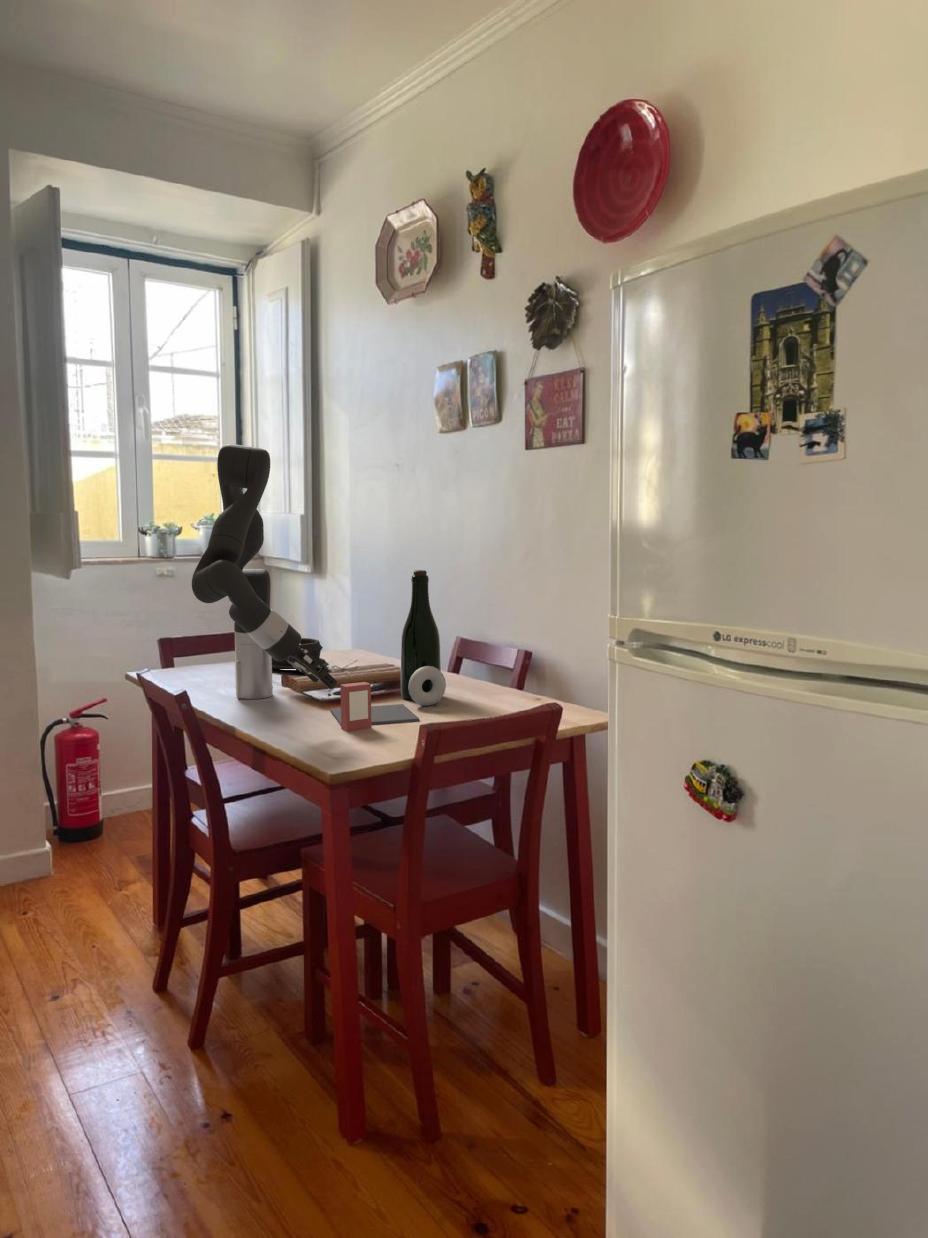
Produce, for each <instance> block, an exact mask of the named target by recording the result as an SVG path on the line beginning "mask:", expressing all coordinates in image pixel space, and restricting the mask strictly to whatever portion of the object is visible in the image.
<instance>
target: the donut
mask: <svg viewBox="0 0 928 1238" xmlns="http://www.w3.org/2000/svg"><path fill="white" fill-rule="evenodd" d="M427 679H429V680H431V681H432V683H433V687H432V689H431V691H429V692H427V693H426V692H424V691H423V690H422V684H423V682H424V681H425V680H427ZM446 687H447V683H446V678H445V675H444V673H443V672H442V670H441V671H440V670H439V669H437V668H435V667H433V666H424V667H421V668H419V669H418V670H416V671H415V672H414V673H413V674H412V676H411V678H410V680H409V686H408V689H409V694H410V696H411V698H412V699H413V700H412V701H414V702H415V703H416V704H418V705H419V706H422V707H426V706H427V707H429V706H433V705H435V704H437V703H438V702H440V701H441V699H442V698H443V696H444V694H445V691H446Z"/></svg>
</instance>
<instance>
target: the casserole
mask: <svg viewBox="0 0 928 1238" xmlns="http://www.w3.org/2000/svg"><path fill="white" fill-rule="evenodd" d="M299 647H301V648H302V649H303V648H304V649H306V650H307V651H308V652H310V653H311V654H312V655H313V656H314V657H315V658H316V659H317V660H318V661H319V662H320V663H322V664H323V665H324V666H325V667H328V666H329V665H330V664H329V662H327V661H326V659H324V658H321V651H322V650H323V646H322V645H321V642H320V640H318V639H315V638H310V637H309V638H307V637H306V638H305V637H301V642H300V644H299ZM272 668H274V669H275V668H276V669H275V670H277V669H295V668H294V667H293V666H292V665H291V664H290V663H289V662H288V661H287V660H286V659H285V660H283V661H276V660H275V659H273V658H272ZM315 669H320V668H319V667H316V668H315ZM296 670H297V669H296Z"/></svg>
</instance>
